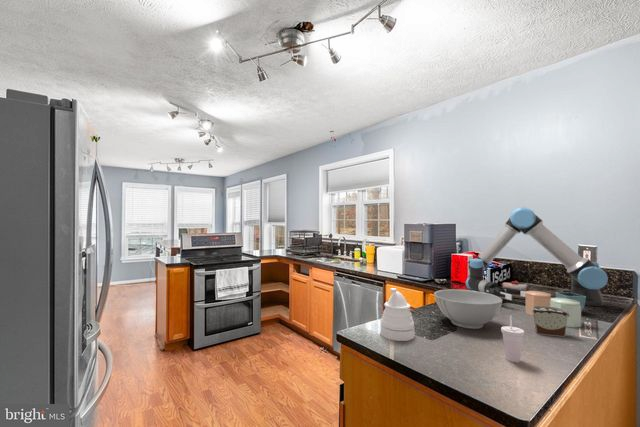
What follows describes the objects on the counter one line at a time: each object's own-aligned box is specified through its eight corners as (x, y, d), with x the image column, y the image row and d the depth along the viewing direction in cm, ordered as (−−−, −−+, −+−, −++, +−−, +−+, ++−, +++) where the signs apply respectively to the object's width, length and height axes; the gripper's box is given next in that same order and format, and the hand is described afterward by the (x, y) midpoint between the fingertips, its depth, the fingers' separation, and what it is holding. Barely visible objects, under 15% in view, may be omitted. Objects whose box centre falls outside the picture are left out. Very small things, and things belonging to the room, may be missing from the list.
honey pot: (395, 343, 110) (395, 293, 110) (374, 331, 121) (374, 286, 122) (421, 337, 116) (421, 290, 116) (398, 326, 127) (398, 284, 128)
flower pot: (573, 310, 153) (573, 292, 154) (587, 315, 145) (586, 296, 145) (555, 309, 154) (554, 291, 155) (567, 314, 146) (567, 296, 146)
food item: (500, 296, 181) (500, 280, 181) (504, 294, 187) (503, 278, 187) (528, 300, 172) (527, 283, 172) (530, 298, 178) (530, 281, 178)
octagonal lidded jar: (536, 310, 153) (536, 290, 153) (556, 316, 143) (556, 294, 144) (521, 311, 150) (520, 291, 151) (540, 317, 141) (540, 296, 141)
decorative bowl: (424, 324, 131) (423, 296, 131) (447, 311, 150) (446, 286, 151) (493, 340, 112) (493, 308, 113) (509, 323, 132) (508, 295, 132)
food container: (563, 332, 122) (562, 307, 122) (569, 337, 116) (569, 311, 117) (527, 328, 126) (527, 304, 126) (532, 333, 120) (531, 308, 121)
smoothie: (496, 355, 100) (496, 313, 100) (515, 355, 100) (514, 312, 101) (510, 364, 93) (510, 319, 94) (530, 364, 94) (529, 318, 94)
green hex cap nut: (562, 318, 139) (561, 297, 139) (586, 326, 129) (585, 302, 130) (545, 320, 136) (545, 298, 137) (568, 328, 127) (568, 304, 127)
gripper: (506, 293, 179) (540, 302, 159) (471, 295, 173) (502, 305, 152) (506, 280, 179) (540, 288, 159) (471, 282, 173) (502, 290, 152)
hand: (522, 296), depth 155 cm, fingers open, 13 cm apart
